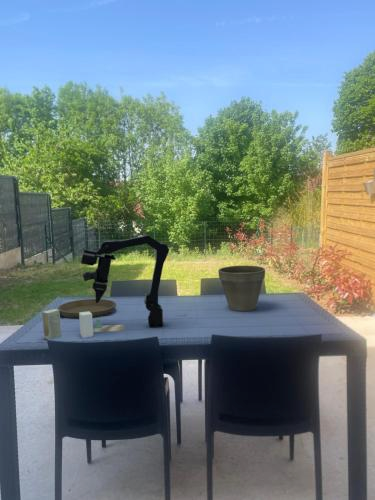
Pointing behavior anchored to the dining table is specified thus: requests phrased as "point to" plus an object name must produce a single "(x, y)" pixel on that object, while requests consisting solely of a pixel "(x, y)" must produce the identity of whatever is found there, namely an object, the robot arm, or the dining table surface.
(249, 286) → the plant pot
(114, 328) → the board
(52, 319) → the skincare box
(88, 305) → the plant saucer
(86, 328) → the tall white cuboid
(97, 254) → the robot arm
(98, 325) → the pale teal block
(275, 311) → the dining table surface
